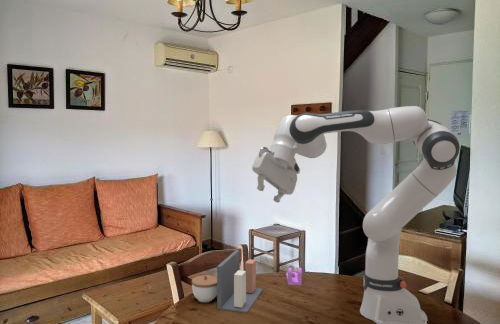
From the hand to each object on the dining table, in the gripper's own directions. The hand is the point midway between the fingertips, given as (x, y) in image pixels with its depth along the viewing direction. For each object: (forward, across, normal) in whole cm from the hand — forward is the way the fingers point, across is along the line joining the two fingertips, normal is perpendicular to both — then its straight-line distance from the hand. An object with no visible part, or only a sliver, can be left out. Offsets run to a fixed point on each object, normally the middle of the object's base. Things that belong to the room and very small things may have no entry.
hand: (268, 196), depth 132 cm
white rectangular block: (+35, +25, +18) cm, 47 cm away
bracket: (+17, +57, +21) cm, 63 cm away
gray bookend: (+32, +30, +23) cm, 50 cm away
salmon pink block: (+29, +36, +25) cm, 52 cm away
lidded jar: (+37, +21, +33) cm, 54 cm away
